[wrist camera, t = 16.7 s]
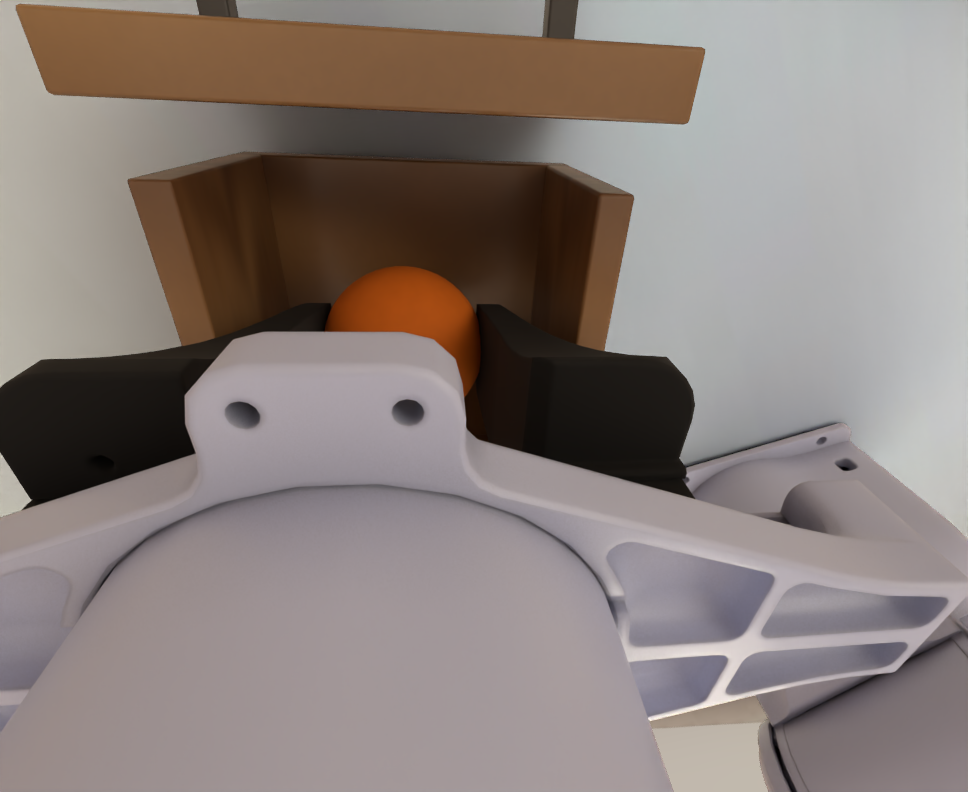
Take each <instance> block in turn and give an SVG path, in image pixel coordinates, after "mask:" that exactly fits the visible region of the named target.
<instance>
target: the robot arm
mask: <svg viewBox="0 0 968 792" xmlns="http://www.w3.org/2000/svg"><path fill="white" fill-rule="evenodd" d="M331 309H332V307H331V303H304V304H300V305H298V306H295V307H292V308H290V309H288V310H286V311H283V312H281V313H279V314H277V315H274V316H272V317H270V318H268V319H265V320H263V321H261V322H258V323H256V324H253V325H251V326H248V327H246V328H243V329H241V330H238V331H236V332H233V333H230V334H227V335H224V336H221V337H217V338H214V339H210V340H207V341H203V342H199V343H195V344H190V345H185V346H180V347H175V348H171V349H166V350H160V351H154V352H147V353H140V354H131V355H122V356H112V357H100V358H80V359H45V360H40V361H39V362H37V363H36V364H34V365H33V366H31V367H30V368H28V369H26V370H25V371H23V372H22V373H20V374H19V375H17V376H16V377H14V378H13V379H11V380H9V381H8V382H6V383H5V384H4V385H3V386H2V387H1V388H0V452H1V454H2V456H3V457H4V459H5V460H6V462H7V463H8V465H9V466H10V468H11V469H12V471H13V473H14V474H15V476H16V477H17V479H18V480H19V482H20V483H21V485H22V486H23V488H24V490H25V491H26V493H27V494H28V496H29V497H30V499H33V500H32V501H31V502H30V503H28V504H27V505H26V506H25V507H24V508H23V509H22V510H21V511H18V512H15V513H12V514H9V515H6V516H3V517H0V792H674V791H673V788H672V785H671V783H670V780H669V777H668V774H667V771H666V768H665V765H664V762H663V760H662V757H661V754H660V751H659V748H658V746H657V742H656V739H655V737H654V734H653V731H652V728H651V725H650V722H649V721H652V720H656V719H660V718H665V717H669V716H673V715H677V714H681V713H685V712H689V711H693V710H697V709H701V708H705V707H709V706H713V705H717V704H721V703H726V702H730V701H734V700H738V699H742V698H746V697H750V696H754V695H756V697H757V699H758V701H759V703H760V705H761V706H762V708H763V710H764V712H765V714H766V716H767V718H768V719H766V720H764V721H763V722H762V724H761V725H760V726H759V730H758V745H759V759H760V766H761V770H762V774H763V777H764V781H765V784H766V786H767V789H768V792H968V540H967V539H966V537H965V536H964V535H963V534H962V533H961V532H960V531H959V530H958V529H957V528H956V527H955V526H954V525H953V524H952V523H950V522H949V521H948V520H947V519H946V518H945V517H943V516H942V515H941V514H940V513H939V512H937V511H936V510H935V509H934V508H932V507H931V506H930V505H929V504H927V503H926V502H925V501H924V500H922V499H921V498H920V497H919V496H917V495H916V494H915V493H914V492H913V491H911V490H910V489H909V488H908V487H906V486H905V485H904V484H903V483H901V482H900V481H899V480H898V479H896V478H895V477H894V476H893V475H891V474H890V473H889V472H888V471H887V470H885V469H884V468H883V467H882V466H880V465H879V464H878V463H877V462H875V461H874V460H873V459H872V458H870V457H869V456H868V455H867V454H865V453H864V452H863V451H862V450H861V449H859V448H858V447H857V446H856V445H854V444H853V443H852V442H851V441H850V436H851V429H850V428H849V427H848V426H847V425H846V424H844V423H838V424H834V425H831V426H827V427H824V428H820V429H817V430H814V431H810V432H807V433H803V434H800V435H796V436H793V437H790V438H786V439H783V440H779V441H776V442H772V443H769V444H766V445H762V446H759V447H755V448H752V449H748V450H745V451H742V452H738V453H735V454H731V455H728V456H724V457H721V458H718V459H714V460H711V461H707V462H704V463H700V464H697V465H694V466H690V467H687V468H685V466H684V465H683V463H682V462H681V460H680V459H679V457H680V454H681V451H682V448H683V445H684V442H685V439H686V436H687V433H688V430H689V428H690V425H691V422H692V418H693V412H694V407H695V402H694V395H693V390H692V388H691V386H690V384H689V383H688V381H687V379H686V378H685V376H684V375H683V374H682V373H681V372H680V371H679V370H678V369H677V368H676V367H675V365H674V364H673V363H672V362H671V361H670V360H669V359H668V358H667V357H657V356H638V355H626V354H619V353H612V352H606V351H601V350H596V349H592V348H588V347H584V346H580V345H577V344H574V343H570V342H568V341H565V340H563V339H560V338H557V337H555V336H553V335H550V334H548V333H546V332H544V331H542V330H540V329H539V328H537V327H535V326H533V325H531V324H530V323H528V322H526V321H525V320H523V319H522V318H520V317H519V316H517V315H516V314H514V313H513V312H511V311H510V310H508V309H507V308H505V307H503V306H502V305H499V304H477V307H476V316H477V318H478V322H479V331H480V346H481V356H480V369H479V373H478V376H477V378H476V380H475V381H476V392H477V397H478V401H479V405H480V410H481V414H482V418H483V422H484V426H485V430H486V434H487V438H488V442H485V441H482V440H478V439H477V438H476V437H475V436H473V435H472V434H471V433H470V432H469V431H468V430H467V428H466V413H465V403H464V393H463V383H462V380H461V377H460V373H459V370H458V366H457V363H456V359H455V358H454V357H453V356H452V355H451V354H449V353H448V352H447V351H446V350H445V349H444V348H443V347H442V346H441V345H439V344H438V343H437V342H436V341H435V340H434V339H430V338H426V337H422V336H418V335H414V334H410V333H406V332H324V331H325V325H326V322H327V318H328V315H329V313H330V311H331Z"/></svg>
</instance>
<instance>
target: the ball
mask: <svg viewBox="0 0 968 792" xmlns="http://www.w3.org/2000/svg"><path fill="white" fill-rule="evenodd" d="M324 332H406V333H410V334H414V335H418V336H422V337H426V338H430V339H434V340H435V341H436V342H437V343H438V344H439V345H441V346H442V347H443V348H444V349H445V350H446V351H447V352H448V353H449V354H451V355H452V356H453V357H454V358H455V359H456V363H457V366H458V370H459V373H460V377H461V380H462V383H463V393H464V397H465V396H466V395H467V394H468V392H469V391H470V389H471V388H472V386H473V384H474V382H475V380H476V378H477V376H478V373H479V369H480V356H481V346H480V331H479V322H478V318H477V316H476V313H475V311H474V309H473V307H472V306H471V304H470V302H469V301H468V300H467V298H466V297H465V296H464V295H463V293H462V292H461V291H460V290H459V289H457V288H456V287H455V286H454V285H453V284H452V283H451V282H449V281H448V280H446V279H445V278H443V277H441V276H439V275H438V274H436V273H433V272H431V271H428V270H425V269H421V268H417V267H409V266H394V267H386V268H382V269H379V270H375V271H373V272H371V273H368V274H366V275H364V276H363V277H361V278H359V279H358V280H356V281H354V282H353V283H352V284H351V285H350V286H348V287H347V288H346V289H345V290H344V292H343V293H342V294H341V295H340V296H339V298H338V299H337V300H336V302H335V303H334V305H333V307H332V309H331V311H330V313H329V315H328V318H327V322H326V325H325V331H324Z"/></svg>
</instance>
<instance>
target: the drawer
mask: <svg viewBox="0 0 968 792" xmlns="http://www.w3.org/2000/svg"><path fill="white" fill-rule="evenodd" d="M196 2H197V6H198V11H199V15H188V14H173V13H157V12H142V11H126V10H110V9H95V8H79V7H64V6H48V5H32V4H18V5H16V11H17V14H18V16H19V19H20V21H21V24H22V27H23V29H24V32H25V35H26V37H27V40H28V43H29V45H30V48H31V50H32V53H33V56H34V58H35V61H36V64H37V66H38V69H39V71H40V74H41V77H42V79H43V82H44V85H45V87H46V90H47V91H48V92H49V93H51V94H53V95H66V96H87V97H109V98H130V99H151V100H173V101H194V102H216V103H237V104H258V105H280V106H301V107H322V108H344V109H365V110H386V111H408V112H429V113H450V114H472V115H493V116H515V117H536V118H557V119H579V120H600V121H621V122H643V123H664V124H686V123H688V121H689V119H690V114H691V110H692V106H693V102H694V97H695V93H696V89H697V85H698V80H699V76H700V72H701V68H702V63H703V59H704V55H705V49H703V48H702V47H688V46H673V45H657V44H642V43H626V42H610V41H595V40H579V39H574V34H575V25H576V16H577V8H578V0H545V10H544V22H543V34H542V37H532V36H517V35H501V34H485V33H470V32H454V31H438V30H423V29H407V28H392V27H376V26H360V25H345V24H329V23H313V22H298V21H282V20H267V19H251V18H239V17H238V11H237V6H236V1H235V0H196ZM128 184H129V187H130V190H131V193H132V196H133V199H134V202H135V206H136V209H137V212H138V215H139V218H140V221H141V224H142V227H143V230H144V233H145V236H146V239H147V242H148V245H149V248H150V251H151V254H152V257H153V260H154V263H155V266H156V269H157V272H158V275H159V278H160V281H161V284H162V287H163V290H164V293H165V296H166V299H167V302H168V305H169V308H170V311H171V314H172V317H173V320H174V323H175V326H176V329H177V332H178V335H179V338H180V341H181V344H182V346H185V345H190V344H195V343H199V342H203V341H207V340H210V339H214V338H217V337H221V336H224V335H227V334H230V333H233V332H236V331H238V330H241V329H243V328H246V327H248V326H251V325H253V324H256V323H258V322H261V321H263V320H265V319H268V318H270V317H272V316H274V315H277V314H279V313H281V312H283V311H286V310H288V309H290V308H292V307H295V306H298V305H300V304H304V303H331V307H333V305H334V303H335V302H336V300H337V299H338V298H339V296H340V295H341V294H342V293H343V292H344V290H345V289H346V288H347V287H348V286H350V285H351V284H352V283H353V282H354V281H356V280H358V279H359V278H361V277H363V276H364V275H366V274H368V273H371V272H373V271H375V270H379V269H382V268H386V267H394V266H409V267H417V268H421V269H425V270H428V271H431V272H433V273H436V274H438V275H439V276H441V277H443V278H445V279H446V280H448V281H449V282H451V283H452V284H453V285H454V286H455V287H456V288H457V289H459V290H460V291H461V292H462V293H463V295H464V296H465V297H466V298H467V300H468V301H469V302H470V304H471V306H472V307H473V309H474V311H475V313H476V307H477V304H499V305H502V306H503V307H505V308H507V309H508V310H510V311H511V312H513V313H514V314H516V315H517V316H519V317H520V318H522V319H523V320H525V321H526V322H528V323H530V324H531V325H533V326H535V327H537V328H539V329H540V330H542V331H544V332H546V333H548V334H550V335H553V336H555V337H557V338H560V339H563V340H565V341H568V342H570V343H574V344H577V345H580V346H584V347H588V348H592V349H596V350H601V351H604V349H605V344H606V339H607V333H608V328H609V323H610V318H611V313H612V308H613V303H614V298H615V293H616V288H617V283H618V278H619V272H620V267H621V262H622V257H623V252H624V247H625V242H626V237H627V232H628V227H629V222H630V216H631V211H632V206H633V201H634V196H633V195H632V194H630V193H628V192H625V191H623V190H621V189H619V188H616V187H614V186H612V185H610V184H608V183H605V182H603V181H601V180H599V179H596V178H594V177H592V176H590V175H588V174H585V173H583V172H581V171H579V170H577V169H574V168H572V167H570V166H568V165H566V164H564V163H539V162H512V161H485V160H458V159H431V158H404V157H378V156H351V155H324V154H297V153H270V152H240V153H236V154H231V155H227V156H222V157H218V158H214V159H210V160H206V161H202V162H197V163H193V164H189V165H185V166H181V167H176V168H172V169H168V170H164V171H160V172H156V173H151V174H147V175H143V176H139V177H135V178H130V179H128ZM464 403H465V413H466V428H467V430H468V431H469V432H470V433H471V434H472V435H473V436H475V437H476V438H477V439H478V440H482V441H485V442H488V438H487V434H486V430H485V426H484V422H483V418H482V414H481V410H480V405H479V401H478V397H477V392H476V381H475V382H474V384H473V386H472V388H471V389H470V391H469V392H468V394H467V395H466V396H465V397H464Z"/></svg>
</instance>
